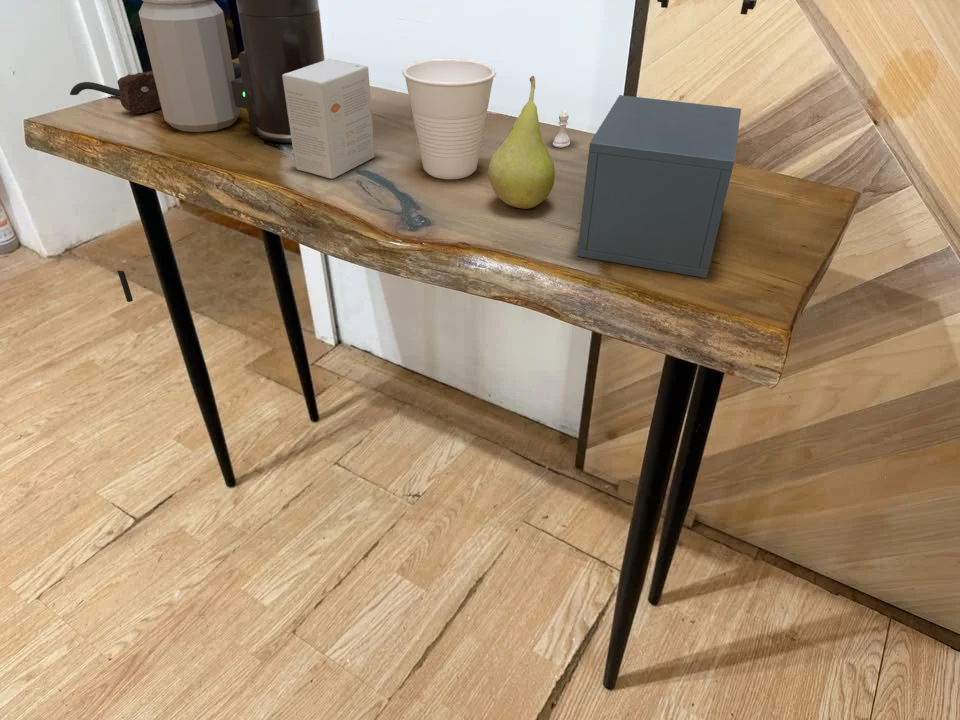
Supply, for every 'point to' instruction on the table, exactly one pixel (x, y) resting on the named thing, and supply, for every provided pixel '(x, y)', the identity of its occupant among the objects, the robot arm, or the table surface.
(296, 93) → the small box
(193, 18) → the jar
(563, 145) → the chess pawn
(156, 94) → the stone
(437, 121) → the cup
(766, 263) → the table surface
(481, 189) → the table surface
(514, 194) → the fruit
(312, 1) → the robot arm
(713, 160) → the cabinet
